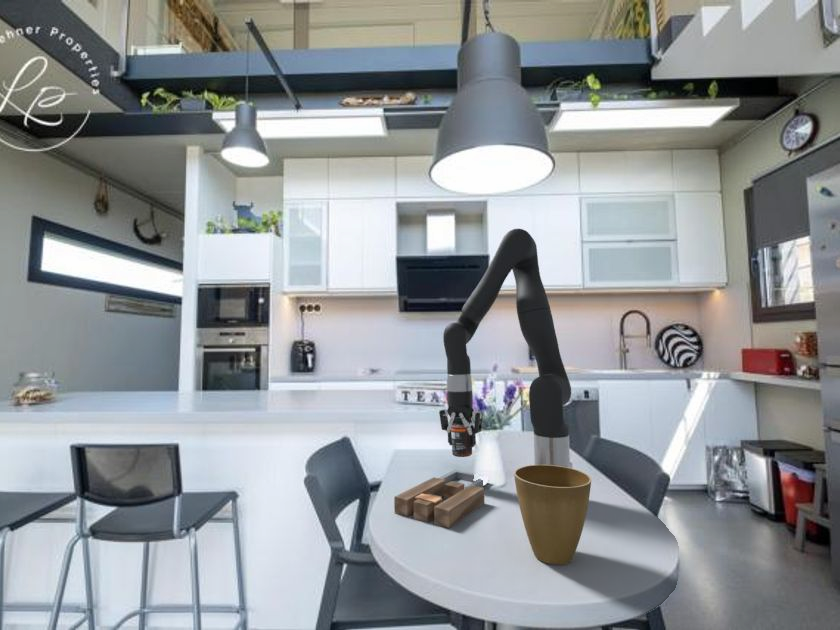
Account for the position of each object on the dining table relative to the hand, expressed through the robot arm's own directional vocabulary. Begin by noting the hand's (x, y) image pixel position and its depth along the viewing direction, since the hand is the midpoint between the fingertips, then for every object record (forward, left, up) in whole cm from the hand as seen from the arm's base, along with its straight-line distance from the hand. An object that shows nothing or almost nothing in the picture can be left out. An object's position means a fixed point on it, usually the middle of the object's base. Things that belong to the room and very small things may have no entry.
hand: (461, 445), depth 128 cm
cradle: (0, 0, -12) cm, 12 cm away
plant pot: (-36, +26, -12) cm, 46 cm away
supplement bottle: (0, 0, -3) cm, 3 cm away
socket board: (-4, +18, -12) cm, 22 cm away
